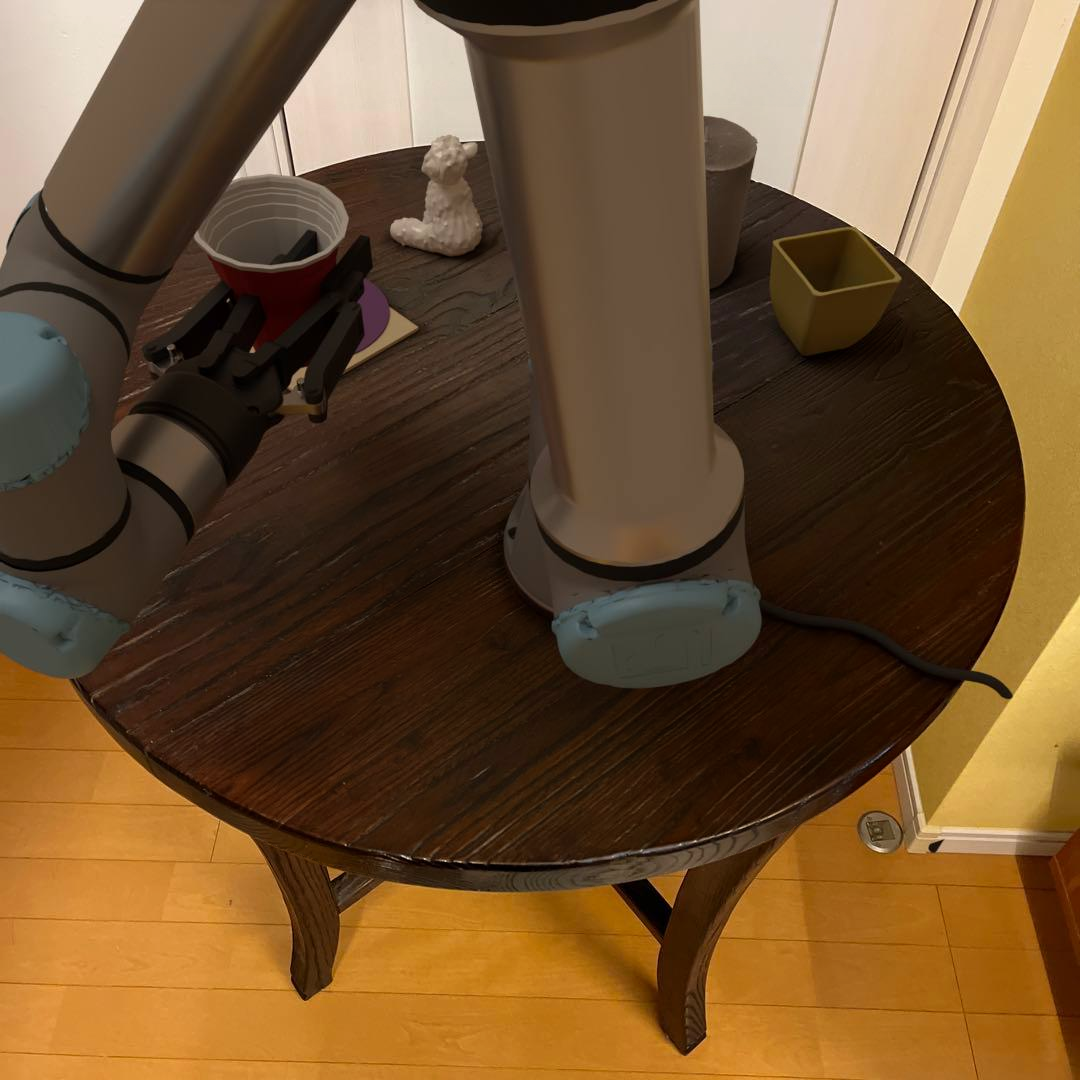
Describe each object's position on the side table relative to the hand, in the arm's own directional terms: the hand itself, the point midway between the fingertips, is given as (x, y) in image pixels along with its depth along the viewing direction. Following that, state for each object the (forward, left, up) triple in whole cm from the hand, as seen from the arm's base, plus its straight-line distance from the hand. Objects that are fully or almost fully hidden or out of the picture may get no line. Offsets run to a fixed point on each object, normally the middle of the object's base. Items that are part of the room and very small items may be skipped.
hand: (342, 245), depth 80 cm
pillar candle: (-5, -38, -18) cm, 43 cm away
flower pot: (-21, -38, -18) cm, 47 cm away
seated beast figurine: (+15, -23, -18) cm, 33 cm away
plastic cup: (0, +5, -7) cm, 9 cm away
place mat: (+14, -4, -18) cm, 23 cm away
